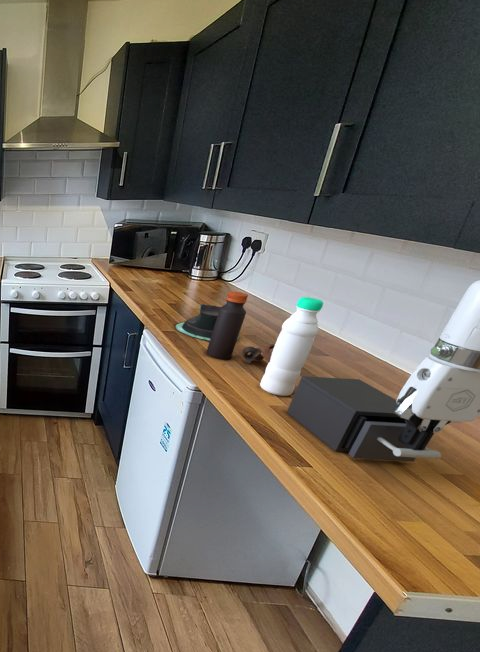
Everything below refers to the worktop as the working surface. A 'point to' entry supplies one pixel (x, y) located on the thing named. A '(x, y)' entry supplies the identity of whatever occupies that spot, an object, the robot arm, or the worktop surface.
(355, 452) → the mini chest drawer
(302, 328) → the water bottle
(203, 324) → the dark green hat
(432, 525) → the worktop surface
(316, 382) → the grey drawer unit
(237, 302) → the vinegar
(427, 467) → the worktop surface
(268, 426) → the worktop surface
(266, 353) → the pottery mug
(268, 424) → the worktop surface
